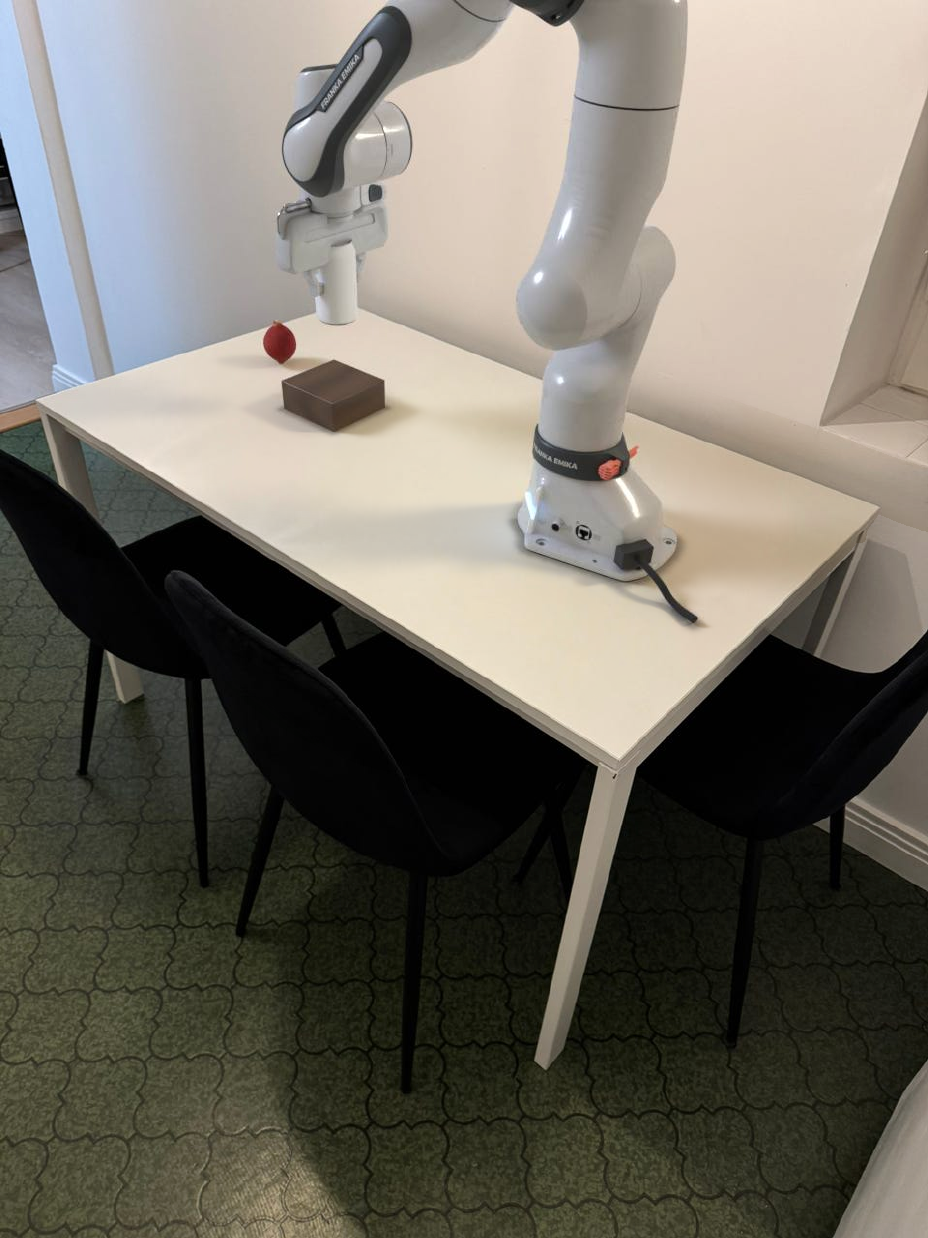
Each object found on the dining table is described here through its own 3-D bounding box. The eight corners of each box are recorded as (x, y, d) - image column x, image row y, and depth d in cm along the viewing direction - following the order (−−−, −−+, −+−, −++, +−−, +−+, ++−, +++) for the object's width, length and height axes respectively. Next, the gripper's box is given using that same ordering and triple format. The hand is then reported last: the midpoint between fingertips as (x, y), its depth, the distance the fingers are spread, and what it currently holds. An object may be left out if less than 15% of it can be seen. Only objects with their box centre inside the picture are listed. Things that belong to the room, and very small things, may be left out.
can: (313, 312, 144) (307, 234, 137) (353, 309, 146) (350, 231, 138) (320, 327, 140) (315, 247, 132) (361, 324, 141) (359, 244, 134)
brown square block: (385, 407, 153) (384, 379, 150) (334, 432, 146) (332, 403, 143) (335, 386, 159) (333, 358, 156) (283, 408, 152) (281, 380, 148)
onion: (287, 353, 169) (283, 311, 164) (303, 364, 165) (300, 321, 160) (259, 361, 166) (254, 318, 161) (275, 372, 162) (271, 328, 157)
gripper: (291, 211, 123) (299, 311, 132) (394, 184, 136) (395, 277, 144) (260, 201, 126) (270, 300, 135) (364, 176, 139) (366, 267, 147)
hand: (335, 288), depth 140 cm, fingers closed on can, 6 cm apart
